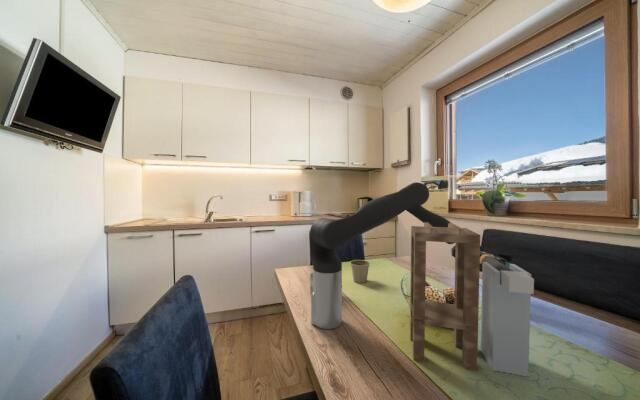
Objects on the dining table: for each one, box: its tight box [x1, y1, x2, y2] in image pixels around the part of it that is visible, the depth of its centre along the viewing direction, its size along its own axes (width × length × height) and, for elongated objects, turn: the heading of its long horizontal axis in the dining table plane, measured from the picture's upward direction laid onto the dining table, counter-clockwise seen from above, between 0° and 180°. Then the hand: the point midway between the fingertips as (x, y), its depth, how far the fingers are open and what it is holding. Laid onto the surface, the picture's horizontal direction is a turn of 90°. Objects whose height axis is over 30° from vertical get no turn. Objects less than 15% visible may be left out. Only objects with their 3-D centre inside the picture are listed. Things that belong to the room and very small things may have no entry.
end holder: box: [480, 262, 532, 378], centre depth 61 cm, size 7×8×24 cm
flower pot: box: [349, 259, 371, 284], centre depth 116 cm, size 9×9×9 cm
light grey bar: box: [480, 254, 535, 295], centre depth 62 cm, size 4×20×3 cm, turn 165°
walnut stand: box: [409, 222, 481, 372], centre depth 65 cm, size 14×11×33 cm
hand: (481, 259), depth 72 cm, fingers open, 8 cm apart
